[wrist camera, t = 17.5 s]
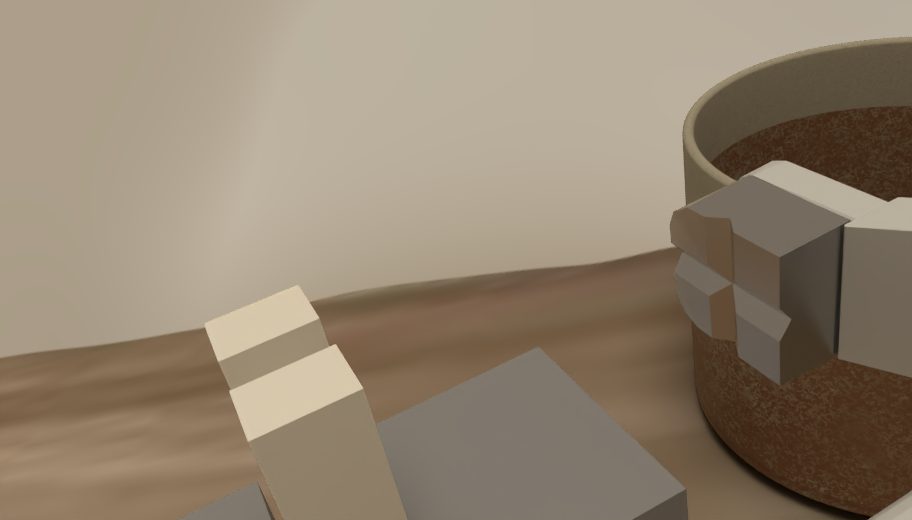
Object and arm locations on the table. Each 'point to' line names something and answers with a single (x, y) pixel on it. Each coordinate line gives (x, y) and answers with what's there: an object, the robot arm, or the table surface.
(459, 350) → the table surface
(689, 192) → the planter
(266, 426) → the notched plate
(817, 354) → the robot arm
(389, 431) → the slotted board
